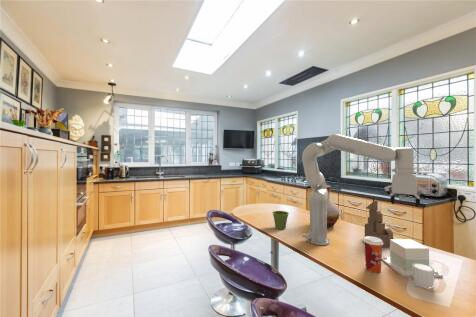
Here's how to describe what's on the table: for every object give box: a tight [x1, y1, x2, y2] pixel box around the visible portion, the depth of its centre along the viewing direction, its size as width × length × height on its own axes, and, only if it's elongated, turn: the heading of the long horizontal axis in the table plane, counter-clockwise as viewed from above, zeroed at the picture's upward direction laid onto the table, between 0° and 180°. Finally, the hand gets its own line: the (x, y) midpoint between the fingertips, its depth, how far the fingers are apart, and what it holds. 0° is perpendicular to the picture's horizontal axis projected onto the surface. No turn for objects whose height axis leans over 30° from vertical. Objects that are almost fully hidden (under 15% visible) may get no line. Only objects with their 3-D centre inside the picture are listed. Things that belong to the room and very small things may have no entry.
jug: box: [326, 184, 340, 228], centre depth 158 cm, size 20×18×30 cm
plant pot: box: [272, 210, 290, 231], centre depth 154 cm, size 12×12×11 cm
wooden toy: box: [364, 200, 394, 248], centre depth 127 cm, size 15×7×25 cm, turn 16°
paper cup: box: [363, 236, 383, 274], centre depth 96 cm, size 8×8×14 cm
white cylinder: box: [412, 263, 436, 289], centre depth 85 cm, size 7×7×7 cm
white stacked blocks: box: [381, 238, 444, 278], centre depth 98 cm, size 16×16×11 cm
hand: (404, 205), depth 108 cm, fingers open, 9 cm apart
